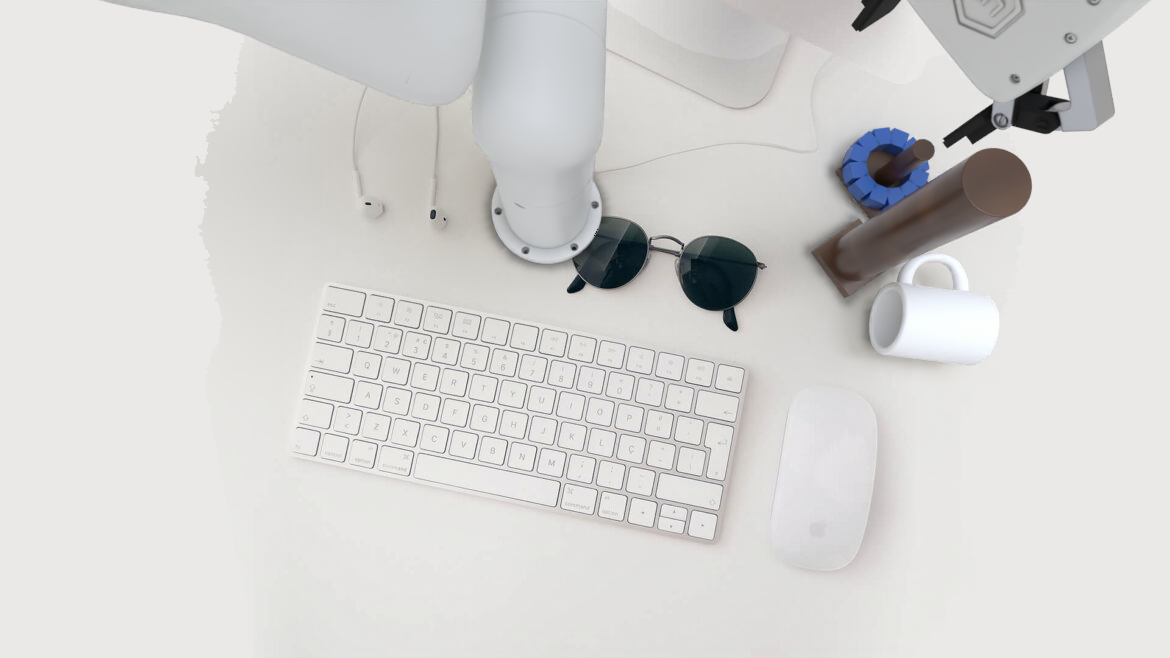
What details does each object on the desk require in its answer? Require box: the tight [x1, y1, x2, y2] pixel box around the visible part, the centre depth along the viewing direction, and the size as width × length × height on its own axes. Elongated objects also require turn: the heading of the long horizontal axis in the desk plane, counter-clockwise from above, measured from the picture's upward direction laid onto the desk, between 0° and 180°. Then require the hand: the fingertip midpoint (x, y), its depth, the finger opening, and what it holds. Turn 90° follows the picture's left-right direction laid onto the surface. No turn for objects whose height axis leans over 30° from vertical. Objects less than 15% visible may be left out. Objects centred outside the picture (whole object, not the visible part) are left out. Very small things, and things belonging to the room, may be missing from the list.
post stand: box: [834, 138, 936, 219], centre depth 70 cm, size 8×8×9 cm
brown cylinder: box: [811, 147, 1033, 299], centre depth 61 cm, size 7×7×25 cm
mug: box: [868, 252, 1000, 367], centre depth 69 cm, size 12×10×8 cm
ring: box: [841, 126, 931, 211], centre depth 73 cm, size 9×9×2 cm
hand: (915, 75), depth 41 cm, fingers open, 9 cm apart
